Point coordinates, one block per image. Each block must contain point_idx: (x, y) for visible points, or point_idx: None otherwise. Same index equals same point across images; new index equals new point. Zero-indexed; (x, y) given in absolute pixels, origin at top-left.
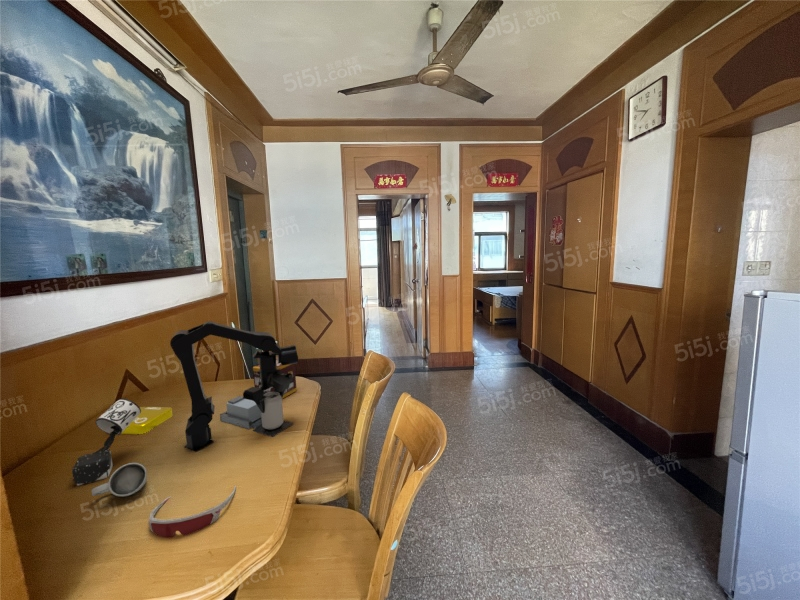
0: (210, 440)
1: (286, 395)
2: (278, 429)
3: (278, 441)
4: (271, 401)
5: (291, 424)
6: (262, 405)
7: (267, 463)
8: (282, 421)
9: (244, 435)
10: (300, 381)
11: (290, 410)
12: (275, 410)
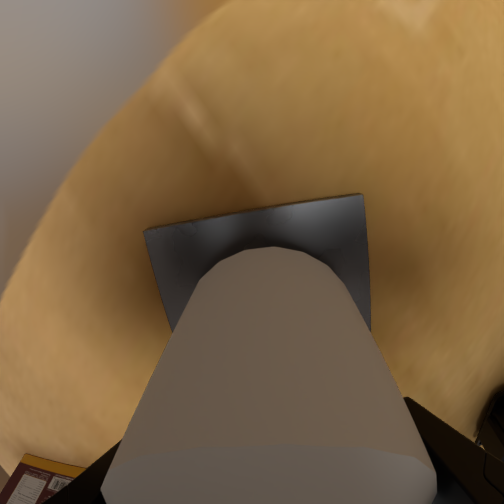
0: (495, 409)
1: (62, 466)
2: (275, 242)
3: (365, 113)
4: (386, 488)
5: (162, 226)
6: (486, 457)
7: (496, 20)
8: (221, 265)
9: (411, 367)
10: (9, 467)
11: (83, 382)
12: (312, 335)
